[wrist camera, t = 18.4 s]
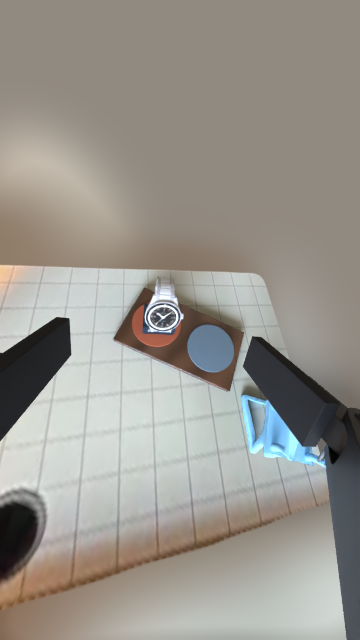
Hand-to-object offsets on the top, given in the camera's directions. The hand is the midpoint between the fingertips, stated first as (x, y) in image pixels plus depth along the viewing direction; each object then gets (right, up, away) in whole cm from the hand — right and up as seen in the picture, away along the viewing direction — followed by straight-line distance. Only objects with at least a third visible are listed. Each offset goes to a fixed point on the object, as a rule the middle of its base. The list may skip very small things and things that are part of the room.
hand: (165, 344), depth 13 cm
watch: (-3, +1, +21) cm, 21 cm away
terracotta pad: (-3, +1, +21) cm, 21 cm away
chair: (+15, -16, +18) cm, 28 cm away
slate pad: (+7, -3, +21) cm, 22 cm away
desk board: (+1, -2, +22) cm, 22 cm away
